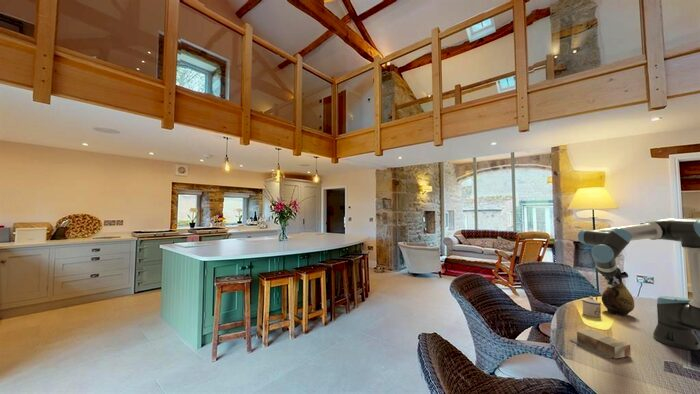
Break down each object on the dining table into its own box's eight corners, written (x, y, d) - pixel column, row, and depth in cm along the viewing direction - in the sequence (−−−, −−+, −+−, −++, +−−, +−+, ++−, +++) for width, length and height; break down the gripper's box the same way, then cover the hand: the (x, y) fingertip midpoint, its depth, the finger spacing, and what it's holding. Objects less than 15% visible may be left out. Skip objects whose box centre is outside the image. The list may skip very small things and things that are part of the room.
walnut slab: (630, 344, 123) (591, 329, 138) (615, 347, 120) (576, 331, 136) (630, 355, 123) (591, 339, 138) (615, 358, 120) (577, 341, 136)
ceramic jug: (642, 319, 166) (640, 271, 167) (613, 316, 169) (612, 269, 170) (620, 309, 183) (619, 265, 184) (594, 307, 186) (593, 264, 187)
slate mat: (630, 354, 124) (630, 353, 124) (608, 358, 121) (608, 357, 121) (589, 337, 141) (589, 336, 141) (569, 340, 137) (569, 339, 137)
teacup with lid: (598, 318, 166) (597, 300, 166) (579, 313, 173) (579, 295, 174) (605, 315, 172) (604, 297, 172) (587, 310, 179) (586, 293, 180)
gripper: (587, 258, 137) (594, 278, 149) (608, 280, 126) (614, 299, 138) (603, 252, 134) (609, 272, 146) (626, 273, 124) (630, 293, 136)
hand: (611, 285), depth 142 cm, fingers closed
